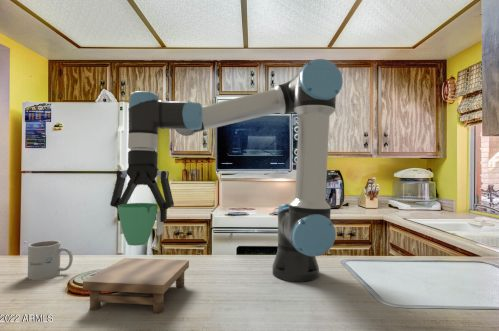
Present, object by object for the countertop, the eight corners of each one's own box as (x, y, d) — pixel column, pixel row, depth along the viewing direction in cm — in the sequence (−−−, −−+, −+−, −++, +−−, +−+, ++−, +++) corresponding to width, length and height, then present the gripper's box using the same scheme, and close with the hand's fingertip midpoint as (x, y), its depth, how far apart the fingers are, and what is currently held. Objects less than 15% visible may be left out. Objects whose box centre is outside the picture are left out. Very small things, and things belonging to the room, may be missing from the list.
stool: (188, 283, 92) (188, 260, 92) (163, 315, 72) (163, 285, 72) (124, 281, 94) (124, 257, 94) (82, 310, 74) (82, 281, 74)
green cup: (147, 248, 75) (148, 207, 75) (109, 247, 76) (109, 206, 76) (169, 236, 90) (169, 201, 90) (136, 234, 91) (137, 200, 91)
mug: (20, 280, 94) (21, 247, 94) (39, 270, 103) (40, 240, 103) (61, 280, 94) (61, 247, 94) (76, 270, 103) (77, 240, 103)
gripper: (187, 151, 86) (186, 232, 86) (111, 151, 88) (110, 229, 88) (178, 149, 79) (176, 237, 78) (96, 149, 81) (94, 235, 81)
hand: (141, 233), depth 83 cm, fingers closed on green cup, 9 cm apart
